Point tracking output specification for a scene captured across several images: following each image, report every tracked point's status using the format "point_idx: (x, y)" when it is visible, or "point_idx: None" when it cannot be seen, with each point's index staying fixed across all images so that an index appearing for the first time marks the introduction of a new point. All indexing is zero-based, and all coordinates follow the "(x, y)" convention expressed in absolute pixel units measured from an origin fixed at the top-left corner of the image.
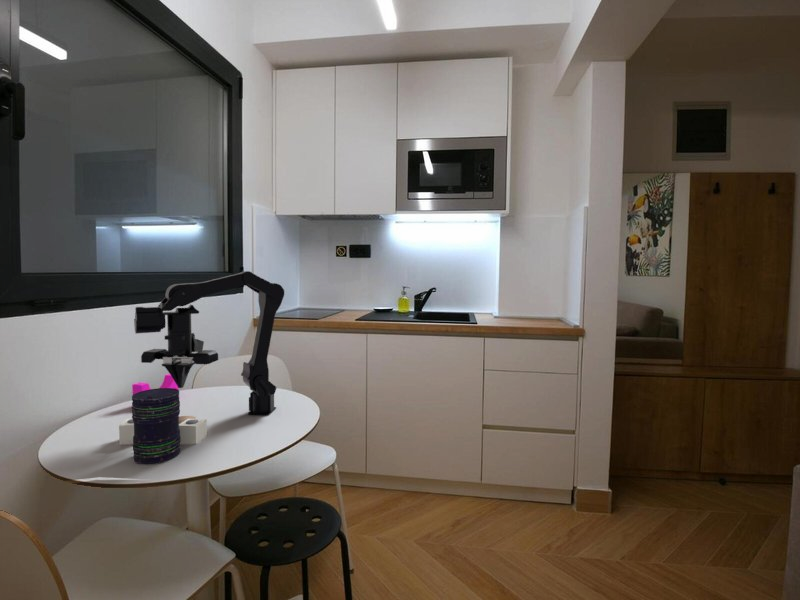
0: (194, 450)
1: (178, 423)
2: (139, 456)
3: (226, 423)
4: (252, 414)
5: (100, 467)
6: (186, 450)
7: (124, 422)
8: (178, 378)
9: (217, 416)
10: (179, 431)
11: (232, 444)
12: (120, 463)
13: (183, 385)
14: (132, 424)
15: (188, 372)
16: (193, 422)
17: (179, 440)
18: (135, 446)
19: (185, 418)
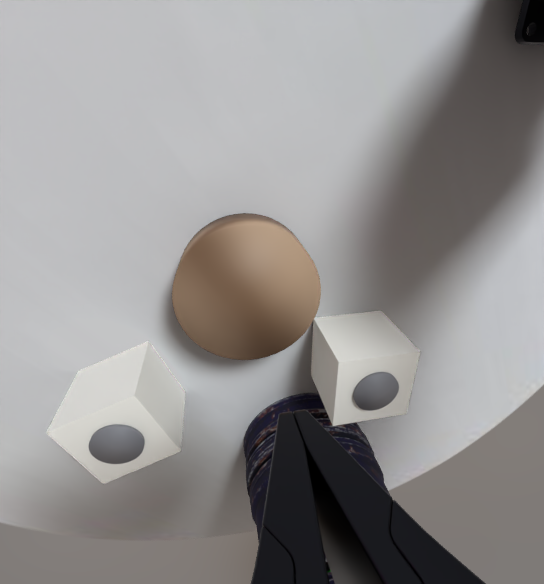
0: None
1: (392, 500)
2: None
3: (405, 148)
4: (540, 43)
5: (206, 505)
6: None
7: (89, 460)
8: (332, 561)
9: (316, 29)
10: (381, 472)
11: (476, 336)
12: (237, 483)
13: (315, 425)
14: (146, 463)
15: (425, 535)
16: (388, 400)
17: (373, 453)
18: None
19: (261, 271)
